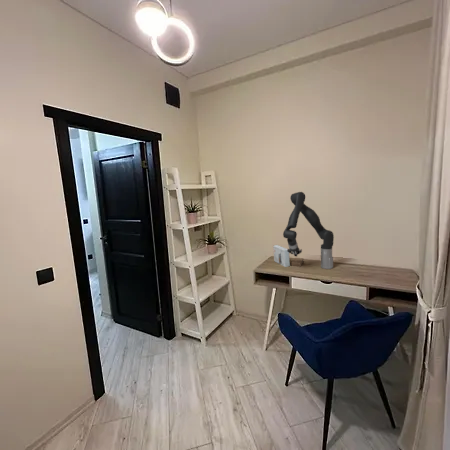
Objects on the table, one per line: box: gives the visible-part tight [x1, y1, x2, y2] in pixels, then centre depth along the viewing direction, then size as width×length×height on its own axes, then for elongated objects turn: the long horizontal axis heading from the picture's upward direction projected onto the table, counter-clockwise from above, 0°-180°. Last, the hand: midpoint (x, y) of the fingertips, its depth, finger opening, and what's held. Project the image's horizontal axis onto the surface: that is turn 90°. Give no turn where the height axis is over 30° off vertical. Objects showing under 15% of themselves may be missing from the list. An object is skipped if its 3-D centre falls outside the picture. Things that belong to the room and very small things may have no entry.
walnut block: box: [291, 257, 305, 267], centre depth 239 cm, size 4×8×16 cm
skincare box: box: [272, 244, 291, 268], centre depth 241 cm, size 21×6×16 cm, turn 17°
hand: (296, 255), depth 231 cm, fingers closed
